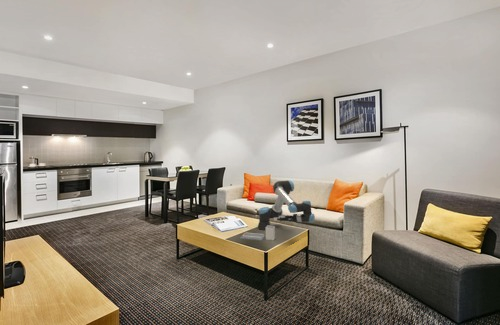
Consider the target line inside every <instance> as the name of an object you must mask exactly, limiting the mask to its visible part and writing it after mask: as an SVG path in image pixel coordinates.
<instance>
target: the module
mask: <svg viewBox="0 0 500 325" xmlns="http://www.w3.org/2000/svg"><path fill="white" fill-rule="evenodd" d="M265 235H266V236H265V240H266V241H274V240H275V239H276V227H275V225H267V226H266V230H265Z"/></svg>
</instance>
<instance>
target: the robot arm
mask: <svg viewBox="0 0 500 325" xmlns="http://www.w3.org/2000/svg"><path fill="white" fill-rule="evenodd" d="M272 187H273V188H272V191H273V192H274V194H275V195H277V197H276V200H275V202H274V204H273V205H272V206H271V207H269V206H263V207H260V208H259V210H258V219H259V220H258V221H259V222H258V225H257V229H258V230H260V231H266V226H267V225H271V222H270V221H271V220H272V219H273V221H277V222H278V221H280V222H285V221H286V222H287V221H293V222H294V223H313V222H315V221H316V219H315V218H316V217H315V213H312V205H311V204H312V203H311V200H303V201H302V203H297V202H296V201H295V200H293V198H292V197H291V196H290V193H291V192H294V190H295V185H294V182H293V181H292V180H278V181H276V182H274V183H273V186H272ZM284 204H286V206H287V209H288V212H289V213H291V214H292V215H288V214H287V215H283V208H282V207H283V205H284ZM270 219H271V220H270ZM271 226H272V225H271Z"/></svg>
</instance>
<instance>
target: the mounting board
mask: <svg viewBox="0 0 500 325" xmlns="http://www.w3.org/2000/svg"><path fill="white" fill-rule="evenodd" d="M264 238H266V234H264V233H255V232H247V231H246V232H244V233H243V234H242V235H241V236H240V237H239V239H240V240H246V241H247V240H248V241H260V242H262V241H263V240H264Z"/></svg>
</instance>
